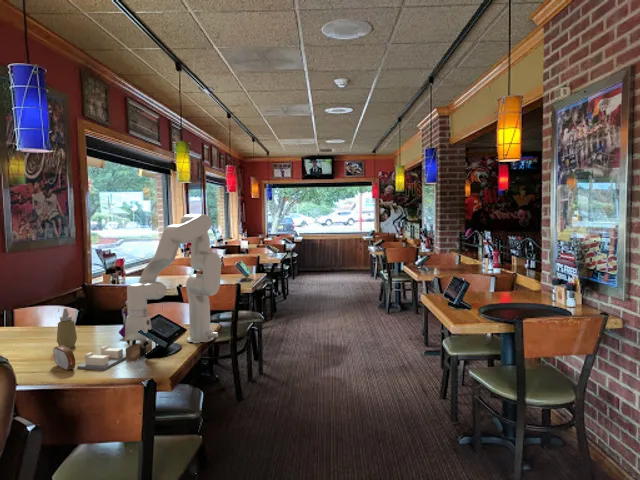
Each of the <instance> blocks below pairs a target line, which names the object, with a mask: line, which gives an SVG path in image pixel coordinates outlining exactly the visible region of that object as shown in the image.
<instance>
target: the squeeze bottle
mask: <svg viewBox="0 0 640 480" xmlns="http://www.w3.org/2000/svg"><path fill="white" fill-rule="evenodd" d="M72 317H73V316H72V315H70V314H69V311H68V308H63V311H62V316H60V317H59V322H57V330H56V331H57V333H56V343H57V346H60V345H63V346H65V347H68V348H70V349H72V348H75V345H76V343H77V340H78V336H77V330H76V325H75V323H76V322H75V321H74V320H73V318H72Z"/></svg>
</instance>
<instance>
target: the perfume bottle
mask: <svg viewBox="0 0 640 480" xmlns="http://www.w3.org/2000/svg"><path fill="white" fill-rule="evenodd" d="M124 303H125V305H126V307H123V311H122V313H123V314H124V315H125V318H127V316H128V304H127V300H126V301H125V302H124ZM125 324H126V322H125V323H124V325H123V326H122V327H121V329H120V330H119V331H118V334H119V335H120V336H121V337H123V338H124V336H125ZM123 338H122V339H123Z"/></svg>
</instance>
